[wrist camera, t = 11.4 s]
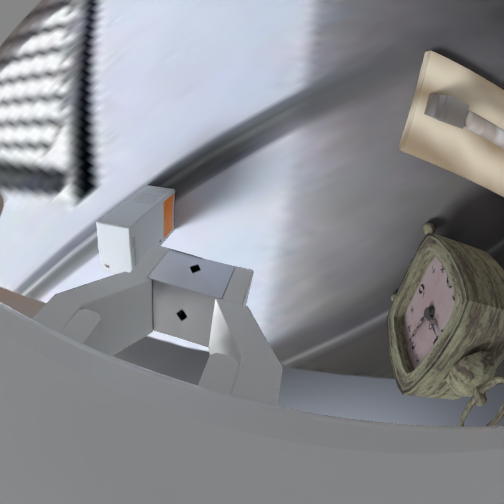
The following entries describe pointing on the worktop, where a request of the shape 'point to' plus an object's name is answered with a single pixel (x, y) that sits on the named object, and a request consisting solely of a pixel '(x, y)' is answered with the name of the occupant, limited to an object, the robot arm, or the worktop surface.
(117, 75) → the worktop surface
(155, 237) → the skincare box
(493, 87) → the rod stand
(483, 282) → the tabletop clock
